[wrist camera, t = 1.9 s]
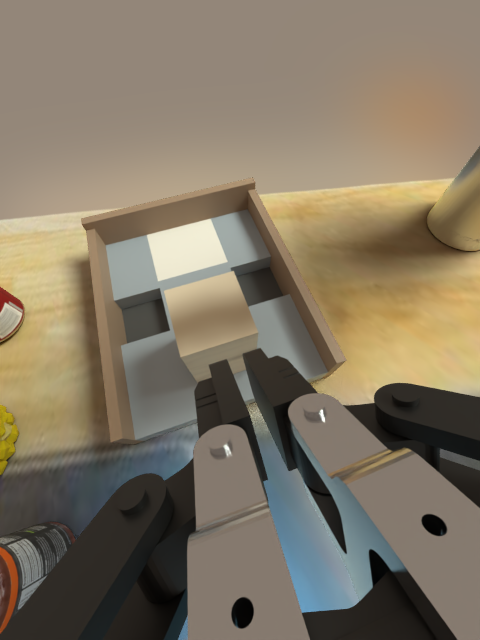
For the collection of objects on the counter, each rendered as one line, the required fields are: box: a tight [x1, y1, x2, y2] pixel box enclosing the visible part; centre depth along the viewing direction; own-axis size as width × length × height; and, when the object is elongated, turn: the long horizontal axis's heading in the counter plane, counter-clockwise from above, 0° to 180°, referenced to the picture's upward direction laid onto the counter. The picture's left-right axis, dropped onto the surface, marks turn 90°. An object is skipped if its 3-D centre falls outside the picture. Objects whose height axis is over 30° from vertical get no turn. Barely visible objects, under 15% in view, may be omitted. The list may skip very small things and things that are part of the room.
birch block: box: [164, 271, 258, 383], centre depth 25 cm, size 6×6×9 cm
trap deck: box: [81, 177, 346, 445], centre depth 32 cm, size 26×22×6 cm
